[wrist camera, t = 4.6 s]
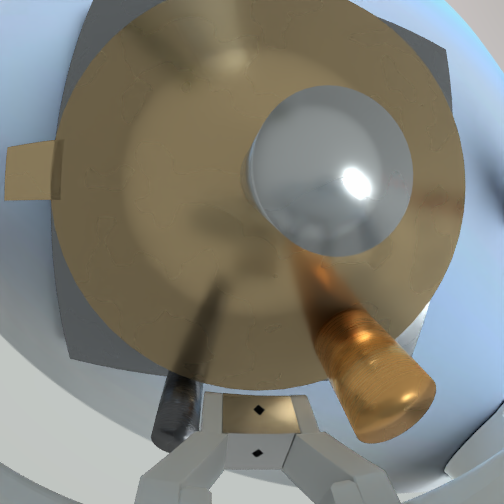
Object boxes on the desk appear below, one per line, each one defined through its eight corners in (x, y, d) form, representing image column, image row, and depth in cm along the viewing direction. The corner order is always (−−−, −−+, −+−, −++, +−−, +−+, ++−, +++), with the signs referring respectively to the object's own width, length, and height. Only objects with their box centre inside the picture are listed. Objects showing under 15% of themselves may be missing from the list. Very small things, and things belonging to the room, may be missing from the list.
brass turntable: (432, 56, 11) (506, 23, 5) (394, 359, 16) (451, 426, 9) (102, 11, 9) (51, -52, 3) (80, 345, 14) (25, 420, 7)
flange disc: (440, 56, 8) (527, 21, 3) (403, 359, 12) (470, 436, 6) (62, 17, 7) (-6, -40, 1) (43, 337, 10) (-26, 413, 4)
